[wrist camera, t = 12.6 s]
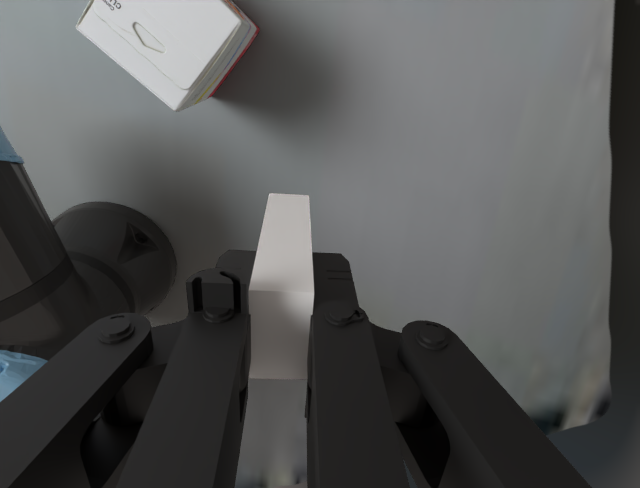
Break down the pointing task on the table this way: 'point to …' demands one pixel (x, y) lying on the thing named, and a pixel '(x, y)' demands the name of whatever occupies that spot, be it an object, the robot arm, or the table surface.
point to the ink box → (171, 43)
